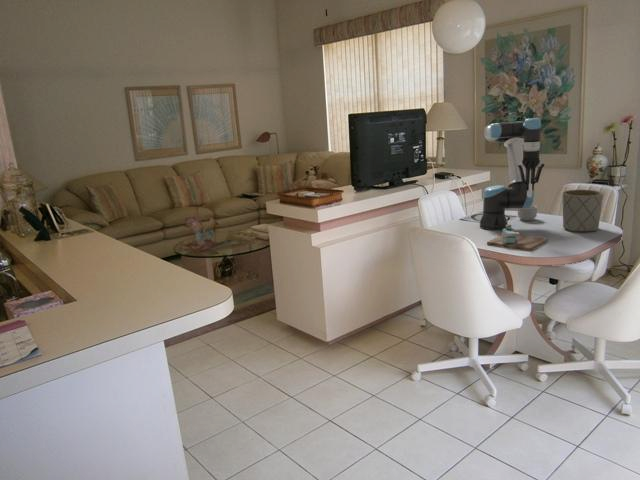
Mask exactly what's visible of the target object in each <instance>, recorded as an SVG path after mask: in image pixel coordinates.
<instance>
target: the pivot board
mask: <svg viewBox="0 0 640 480" xmlns="http://www.w3.org/2000/svg"><path fill="white" fill-rule="evenodd" d="M511 228H512V224H508V225H506V229H508V230H510V229H511ZM507 236H515V238H516V242H515V243H507ZM548 241H549V238H548V237H541V236H532V235H526V234H525V235H524V234H520V232H518V231H514V232H503V231H502V232H501V234H500V235H499V236H496V237H494V238H493V239H490V240H489V241H487V242H486V245H488V246H494V247H500V248H507V249H513V250H520V251H525V252H526V251H528V252H532V251H534V250H535V249H536V248H538V247H540V246H542V245H544V244H546V243H547V242H548Z"/></svg>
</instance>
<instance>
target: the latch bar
mask: <svg viewBox="0 0 640 480" xmlns="http://www.w3.org/2000/svg"><path fill="white" fill-rule="evenodd" d="M502 232H515V229H514V228H512V227H511V229H510V230H508V229H506V228H504V229H502ZM515 242H516V238H515V236H507V243H515Z"/></svg>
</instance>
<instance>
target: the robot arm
mask: <svg viewBox="0 0 640 480" xmlns="http://www.w3.org/2000/svg"><path fill="white" fill-rule="evenodd" d="M541 129H542V120H541V118H539V117H537V118H536V117H534V118H525V119H524V121H523V120H522V121H521V120H520V121H518V120H517V121H505V122H504V121H502V122H493V123H490V124H488V125H486V126H485V127H484V129H483V131H482V136H483V138H484V139H485V140H486V141H488V142H491V143H496V144H497V143H503V146H504V147H505V148H506V153H507V161H508V174H509V181H510V182H509V183H508V185H507V187H506V185H504V184H503V185H498V184H497V185H492V186H488V187H486V188H484V190H483V194H482V198H483V200H482V202H483V203H482V204H483V205H482V207H483V208H482V216H481V219H480V221H479V228H481V229H483V230H490V231H491V230H492V231H493V230H494V231H495V230H496V231H498V230H503V229H504V228H506V225H509V224H508V221H507V217H506V214H505V213H506V209H507V210H509V209H517V208H522V209H523V208H529V207H531V205H533V203H534V198H535V197H534V196H535V184H536V183H537V184H538V183H539V181H540V177H541V173H542V170H543V168H544V167H545V163H542V162H541V160H540V148H541V147H540V145H541ZM536 169H537V170H536Z"/></svg>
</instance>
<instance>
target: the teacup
mask: <svg viewBox="0 0 640 480" xmlns="http://www.w3.org/2000/svg"><path fill="white" fill-rule="evenodd" d="M516 210H517V216H518V218H519V219H520V221H521V220H522V221H533V220H534V219H535V218H537V215H538V206H537V205H533V204H532V205H531V207H529V208H523V209H522V208H516Z"/></svg>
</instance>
